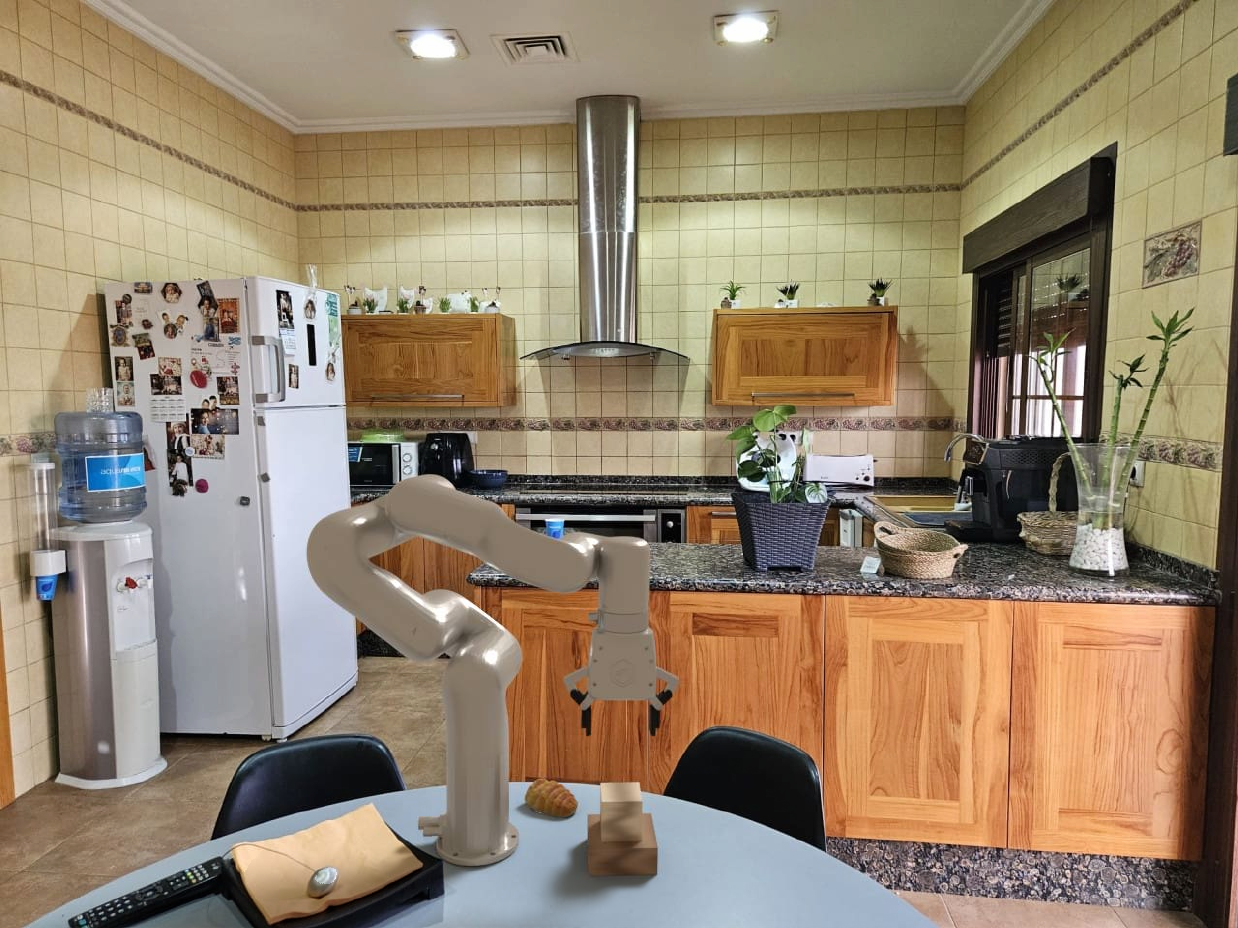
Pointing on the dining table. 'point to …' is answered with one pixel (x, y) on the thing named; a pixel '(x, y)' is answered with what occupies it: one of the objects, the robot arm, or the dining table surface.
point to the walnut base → (622, 851)
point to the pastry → (551, 798)
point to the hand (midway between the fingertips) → (620, 732)
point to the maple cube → (621, 811)
